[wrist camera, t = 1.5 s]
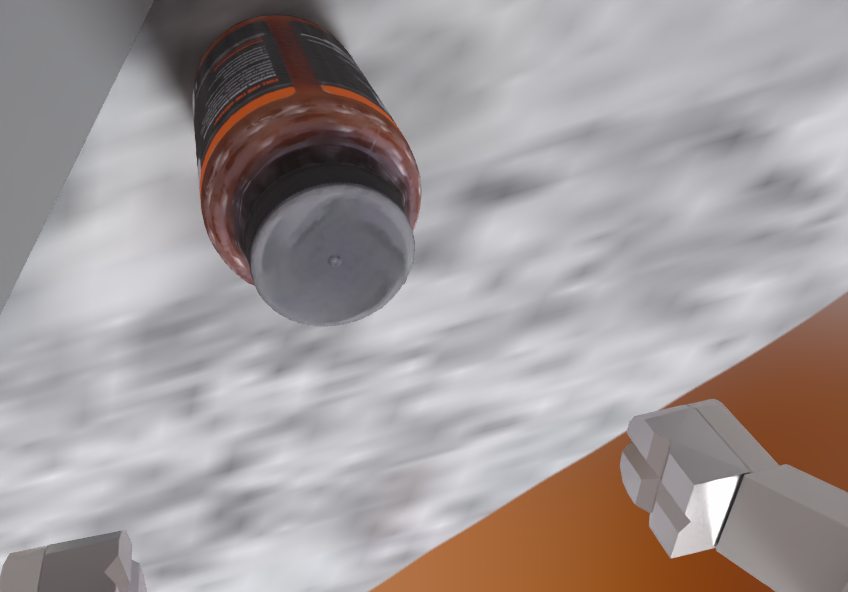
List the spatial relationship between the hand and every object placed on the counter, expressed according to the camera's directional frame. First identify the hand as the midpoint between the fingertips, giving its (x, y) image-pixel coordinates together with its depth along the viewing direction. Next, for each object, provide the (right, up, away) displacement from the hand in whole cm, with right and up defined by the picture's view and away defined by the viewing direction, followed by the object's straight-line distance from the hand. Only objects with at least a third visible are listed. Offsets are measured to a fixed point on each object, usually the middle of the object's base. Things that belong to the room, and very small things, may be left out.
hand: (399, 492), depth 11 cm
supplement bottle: (-5, +10, +14) cm, 18 cm away
